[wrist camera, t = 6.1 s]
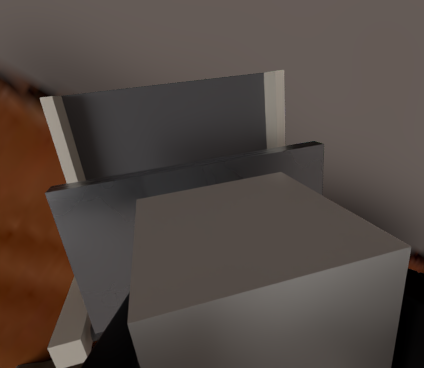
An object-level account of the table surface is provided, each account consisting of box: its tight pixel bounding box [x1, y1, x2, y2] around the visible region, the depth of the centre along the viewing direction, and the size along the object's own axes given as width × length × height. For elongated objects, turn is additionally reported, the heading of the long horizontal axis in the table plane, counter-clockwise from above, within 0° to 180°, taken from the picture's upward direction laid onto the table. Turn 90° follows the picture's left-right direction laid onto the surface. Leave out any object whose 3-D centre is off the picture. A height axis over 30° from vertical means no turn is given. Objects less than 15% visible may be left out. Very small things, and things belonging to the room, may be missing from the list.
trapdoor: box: [45, 141, 324, 341], centre depth 13 cm, size 8×12×1 cm, turn 96°
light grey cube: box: [127, 172, 411, 368], centre depth 8 cm, size 5×5×5 cm
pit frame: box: [40, 70, 286, 368], centre depth 16 cm, size 13×16×8 cm
